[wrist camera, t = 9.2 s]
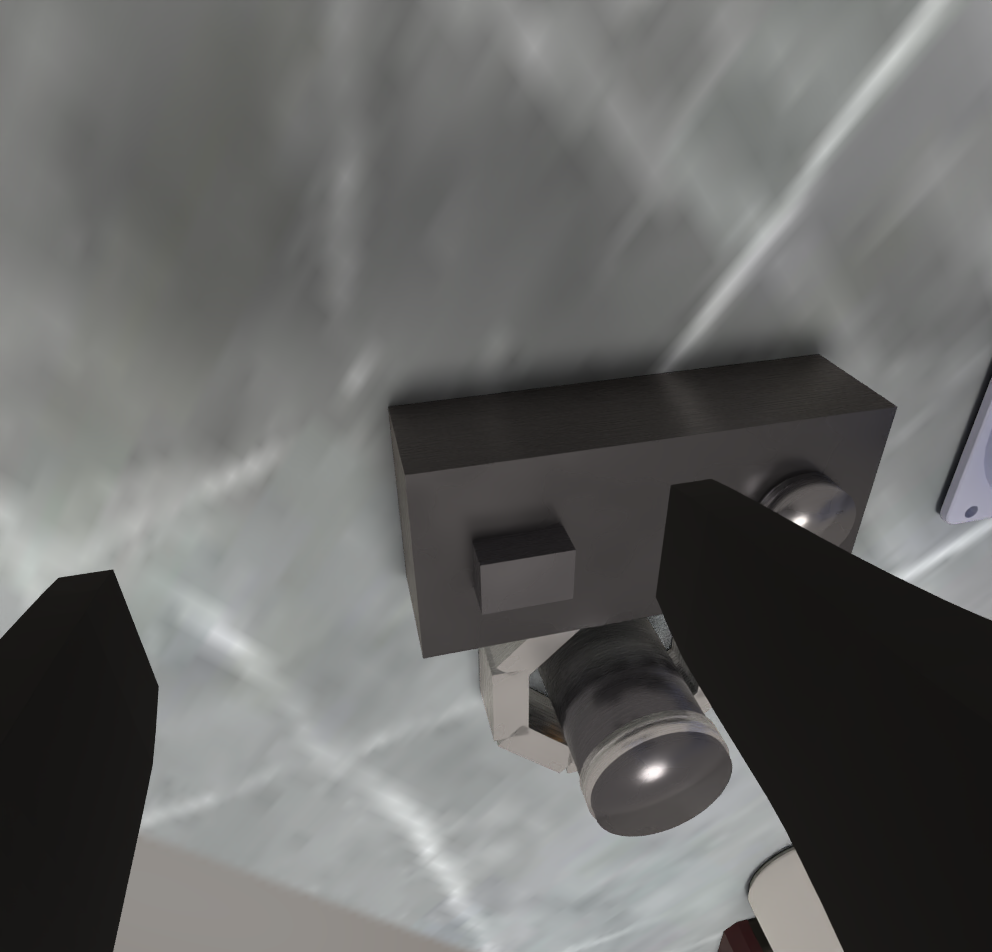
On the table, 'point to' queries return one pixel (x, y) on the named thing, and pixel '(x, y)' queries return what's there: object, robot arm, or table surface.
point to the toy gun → (744, 938)
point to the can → (790, 907)
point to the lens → (634, 729)
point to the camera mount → (605, 505)
